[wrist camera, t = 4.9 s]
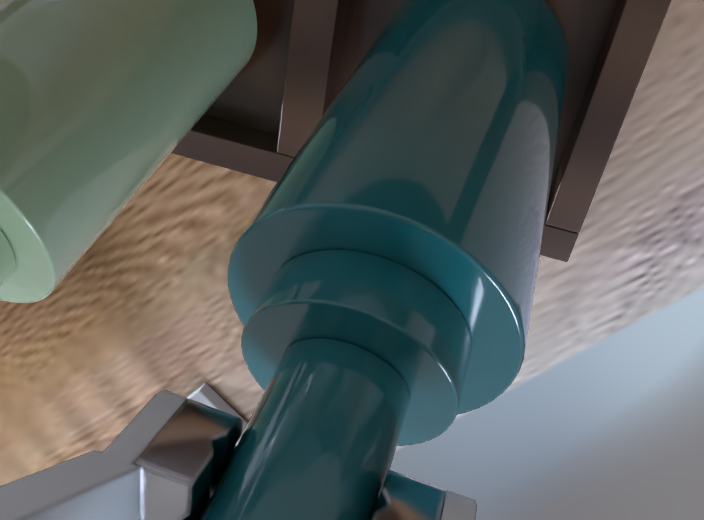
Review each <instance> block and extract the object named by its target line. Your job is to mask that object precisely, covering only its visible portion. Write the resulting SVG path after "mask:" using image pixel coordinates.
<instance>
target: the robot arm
mask: <svg viewBox="0 0 704 520" xmlns="http://www.w3.org/2000/svg"><path fill="white" fill-rule="evenodd" d="M242 429H243V420H242V419H241V418H239V417H236V416H233V415H231V414H228V413H226V412H223V411H220V410H218V409H215V408H213V407H210V406H207V405H205V404H202V403H200V402H197V401H194V400H192V399H188V398H185V397H183V396H180V395H177V394H175V393H172V392H170V391H167V390H162V391H160V392H159V393H157V394H155V395H154V396H153V397H152V399H151V400H150V401H149V402H148V403H147V404H146V405H145V406H144V407H143V409H142V410H141V411H140V412H139V413H138V414H137V415H136V416H135V417H134V418H133V420H132V421H131V422H130V423H129V424H128V425H127V426H126V427H125V428H124V430H123V431H122V432H121V433H120V434H119V435H118V436H117V437H116V438H115V439H114V441H113V442H112V443H111V444H110V445H109V446H108V447H107V448H106V449H105V451H104V452H100V451H97V450H93V451H91V452H88V453H85V454H83V455H80V456H78V457H75V458H72V459H70V460H67V461H65V462H62V463H59V464H57V465H54V466H52V467H49V468H46V469H44V470H41V471H39V472H36V473H34V474H31V475H28V476H26V477H23V478H21V479H18V480H15V481H13V482H10V483H8V484H5V485H2V486H0V520H199V519H200V517H201V515H202V513H203V511H204V509H205V507H206V505H207V503H208V501H209V500H210V498H211V496H212V494H213V492H214V490H215V488H216V486H217V484H218V482H219V480H220V478H221V476H222V474H223V472H224V470H225V468H226V466H227V464H228V462H229V460H230V458H231V456H232V454H233V452H234V450H235V448H236V443H237V442H238V440H239V439H240V437H241V436H242ZM476 511H477V503H476V500H474V499H472V498H469V497H466V496H463V495H460V494H457V493H454V492H451V491H448V490H446V491H445V489H443V488H440V487H437V486H434V485H431V484H429V483H426V482H423V481H420V480H416V479H414V478H411V477H408V476H405V475H402V474H399V473H396V472H393V471H391V470H388V471H387V474H386V477H385V480H384V483H383V486H382V490H381V493H380V496H379V500H378V503H377V506H376V510H375V512H374V515H373V518H372V520H475V519H476Z"/></svg>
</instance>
